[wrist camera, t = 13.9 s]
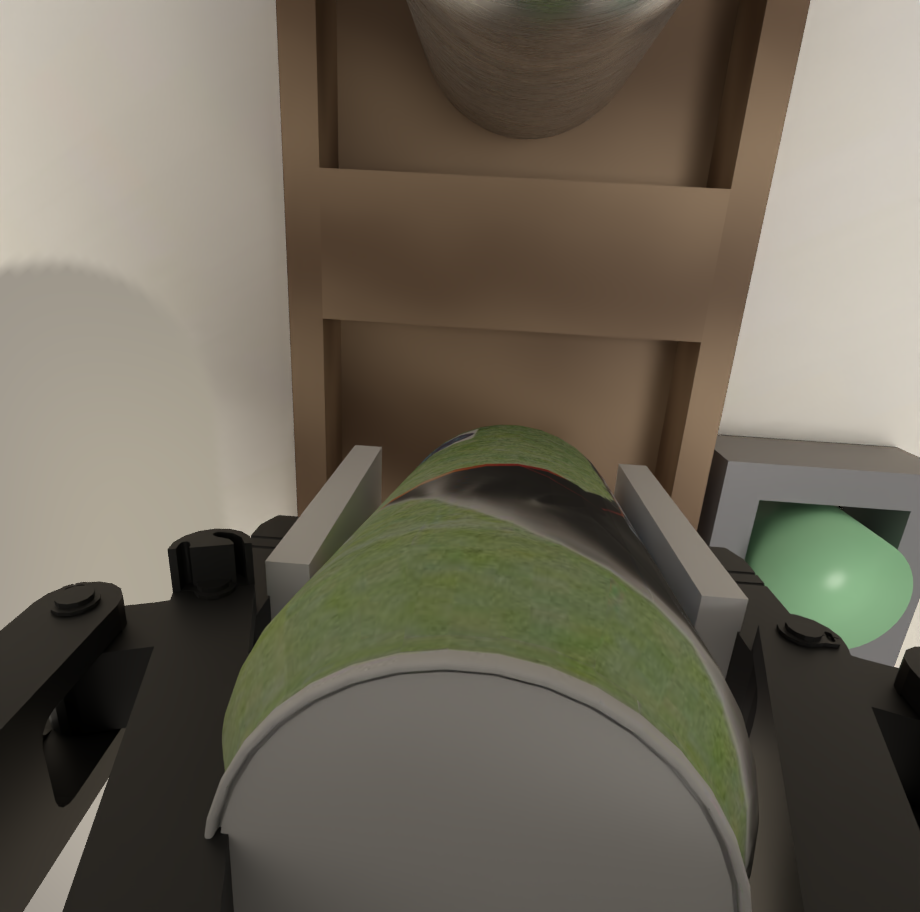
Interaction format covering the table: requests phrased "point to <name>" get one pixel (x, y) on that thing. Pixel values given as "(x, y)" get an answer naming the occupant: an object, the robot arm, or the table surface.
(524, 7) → the seated billet
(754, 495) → the button housing
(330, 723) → the beverage can
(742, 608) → the robot arm
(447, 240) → the wooden divided tray
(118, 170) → the table surface
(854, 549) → the button
